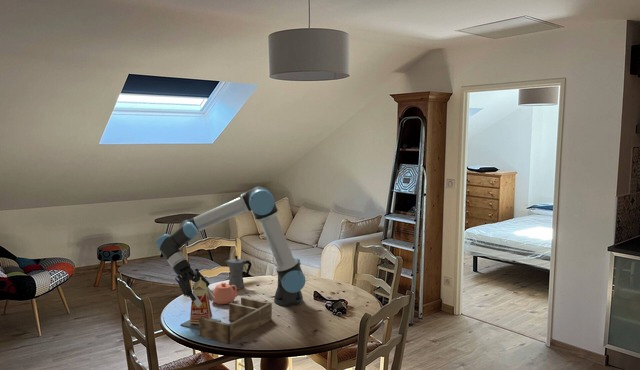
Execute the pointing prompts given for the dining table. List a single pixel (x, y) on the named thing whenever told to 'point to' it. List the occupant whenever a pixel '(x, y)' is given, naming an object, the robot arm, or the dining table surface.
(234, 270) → the coffeepot
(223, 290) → the sugar bowl
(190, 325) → the mat
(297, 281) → the robot arm
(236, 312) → the lane rack
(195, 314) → the milk carton
